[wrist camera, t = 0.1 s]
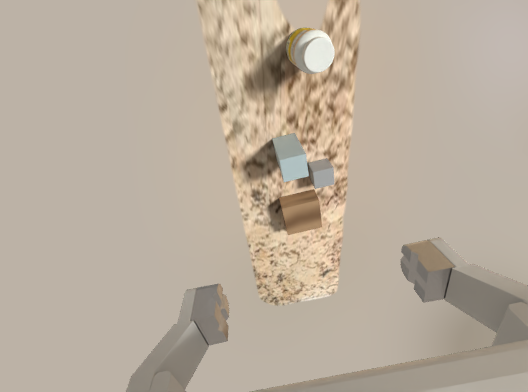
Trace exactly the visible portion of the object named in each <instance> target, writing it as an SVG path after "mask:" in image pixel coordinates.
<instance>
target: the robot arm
mask: <svg viewBox="0 0 528 392" xmlns="http://www.w3.org/2000/svg"><path fill="white" fill-rule="evenodd" d="M402 253H403V254H404V256H403V257H402V259H401V268H402V272H403V274H404V275H405V277H406V278H407V280H408V281H410V282H412V283H414V284H415V285H414V290H415V291H416V293H417V294H418V295H419V297H420V298H421V299H422V301H423V302H429V301H435V300H441V299H445V300H446V301H447V302H449V303H451V304H452V305H454V306H455V307H457V308H458V309H460V310H461V311H463V312H465V313H466V314H468V315H470V316H471V317H473V318H474V319H476V320H477V321H479V322H480V323H482V324H484V325H485V326H487V327H488V328H490V329H492V330H493V331H495V332H496V335H495V338H494V340H493V342H492V346H491V347H485V348H480V349H475V350H470V351H464V352H459V353H454V354H449V355H443V356H438V357H433V358H427V359H421V360H416V361H411V362H405V363H400V364H395V365H389V366H385V367H379V368H373V369H368V370H362V371H357V372H352V373H347V374H341V375H336V376H331V377H325V378H320V379H315V380H309V381H304V382H300V383H293V384H288V385H283V386H277V387H272V388H267V389H261V390H256V391H252V392H528V285H525V284H522V283H520V282H517V281H515V280H513V279H510V278H508V277H505V276H502V275H500V274H498V273H495V272H493V271H490V270H488V269H485V268H482V267H480V266H478V265H475V264H469V263H468V262H466V261H465V260H464V259H463V258H462V257H461V256H460V255H459V254H458V253H457V252H456V251H455V250H453V248H452V247H451V246H449V245H448V244H447V243H446V242H445V241H444V240H443V239H442V238H439V237H438V238H434V239H429V240H424V241H419V242H415V243H410V244H406V245H403V247H402ZM222 291H223V288H222V286H221V284H215V285H210V286H204V287H199V288H194V289H189V290H186V292H185V294H184V298H183V303H182V306H181V311H180V315H179V319H178V323H177V324H174V325H173V326H172V328H171V329H170V330H169V331H168V332H167V334H166V335H165V336H164V337H163V338H162V340H161V341H160V342H159V343H158V345H157V346H156V347H155V348H154V349H153V351H152V352H151V353H150V354H149V355H148V357H147V358H146V359H145V360H144V362H143V363H142V364H141V365H140V367H139V368H138V369H137V370H136V371H135V373H134V374H133V375H132V376H131V379H130V381H129V384H128V388H127V390H126V392H186V391H185V388H186V386H187V385H188V383H189V381H190V379H191V378H192V376H193V374H194V372H195V370H196V369H197V367H198V365H199V363H200V361H201V360H202V358H203V356H204V354H205V352H206V350H207V349H208V347H209V345H213V344H217V343H222V342H226V341H228V325H227V322H226V320H227V319H228V317H229V305H228V300H227V297H226V295H224V294H222Z"/></svg>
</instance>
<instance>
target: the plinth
mask: <svg viewBox="0 0 528 392" xmlns="http://www.w3.org/2000/svg"><path fill="white" fill-rule="evenodd" d="M279 200H280V204H281V208H282V212H283V217H284V221H285V225H286V229H287V233H288V235H290V234H294V233H299V232H303V231H307V230H311V229H316V228H320V227H322V222H321V213H320V205H319V199H318V197H317V195H316V193H315V191H314V190H310V191H305V192H301V193H297V194H293V195H289V196H285V197H280V198H279Z"/></svg>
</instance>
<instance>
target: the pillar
mask: <svg viewBox="0 0 528 392" xmlns="http://www.w3.org/2000/svg"><path fill="white" fill-rule="evenodd" d="M272 140H273V144H274V149H275V154H276V158H277V161H278V165H279V168H280V171H281V174H282V177H283V180H284V182H287V181H291V180H295V179H299V178H304V177H308V176H309V173H308V166H307V159H306V153H305V151H304V149H303V148H302V146H301V144H300V142H299V140H298V138H297V136H296V135H295V133H293V134H289V135H285V136H281V137H277V138H273V139H272Z"/></svg>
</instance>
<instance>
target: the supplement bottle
mask: <svg viewBox="0 0 528 392" xmlns="http://www.w3.org/2000/svg"><path fill="white" fill-rule="evenodd" d="M286 53H287V56H288V59H289V60H290V61H291V62H292V63H293V64H294V65H295V66H296V67H298V68H299V69H300V70H301V71H303V72H305V73H308V74H314V73H318V72H322V71H324V70H326V69H327V68H328V67H329V66H330V65H331V63H332V61H333V59H334V47H333V45H332V42H331V40H330V38H329V36H328V35H327V34H326V33H324V32H323V31H320V30H316V29H310V28H299V29H297V30H295V31H294V32H293V33H292V34H291V35H290V37H289V39H288V41H287V45H286Z"/></svg>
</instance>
